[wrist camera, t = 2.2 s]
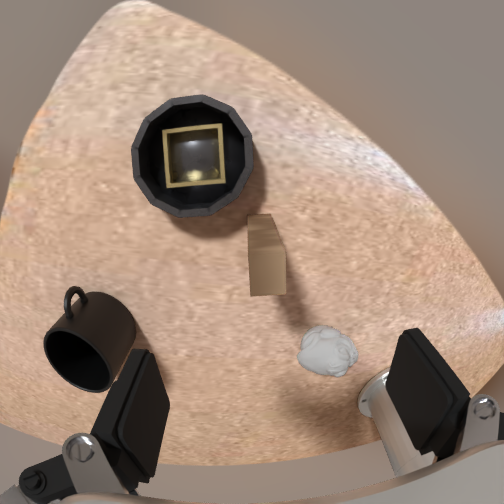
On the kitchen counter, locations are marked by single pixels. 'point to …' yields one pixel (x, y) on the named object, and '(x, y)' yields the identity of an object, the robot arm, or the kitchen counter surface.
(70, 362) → the mug
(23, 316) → the kitchen counter surface
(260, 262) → the brown rectangular bar
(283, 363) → the kitchen counter surface
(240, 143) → the dark grey round tray
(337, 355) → the frog figurine
